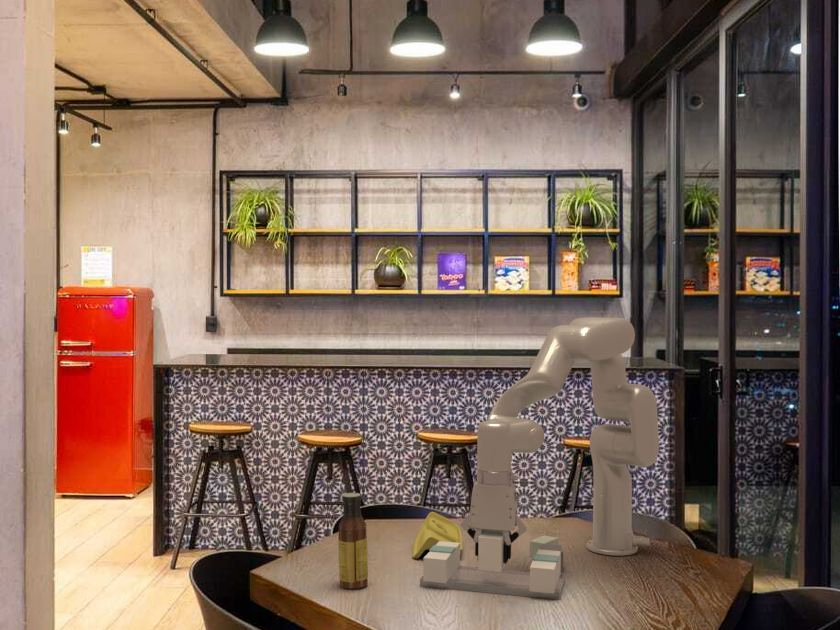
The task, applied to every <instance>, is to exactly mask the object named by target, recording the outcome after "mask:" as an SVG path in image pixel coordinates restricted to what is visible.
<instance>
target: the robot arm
mask: <svg viewBox="0 0 840 630" xmlns="http://www.w3.org/2000/svg"><path fill="white" fill-rule="evenodd" d="M635 336H636V333H635V328H634V326H633V324H632V323H631V321H629V320H628V319H626V318H622V317H598V316H597V317H596V316H592V317H591V316H587V317H579V318H575V319H573V320H572V321H571V322H570V323H569V324H562V325H561V324H560V325H556V326H554V327H553V328H551V330H550V331H549V332H548V334H547V335H546V337H545V339H544V341H543V344H542V345H541V347H540V349H539V351H538V352H537V353H538V354H537V356H536V357H535V359H534V361H533V363H532V365H531V366H530V369H529V371H528V372H527V374H526V375H525V376H524V377H522V378H521V379H519V380H518V381H517V382H515V383H514V384H512V386H510V387H509V388H508V389H507V390H505V392H504V393H502V394H501V395H500V397H499V398H498V399H497V400H496V402H495V403H494V406H493V407H492V410H491V411H490V413H489V414H488V417H487V420H484V421H481V422H480V423H478V426H477V442H476V443H477V448H476V449H477V452H476V453H477V454H476V458H477V459H476V461H477V463H476V481H474V482H473V488H472V490H471V491H472V492H471V499H470V507H469V508H470V510H469V513H468V514H467V515H466V517H465V518H464V519H463V520H462V521H461V523H460V525H459V526H460V527H461V528H462V529H463V530H464V532H466V533H467V534H468V535H469V536H470V537H471V539H472V540H473V542H474V543H475V544H474V546H475V548H474V556H476V557H478V541H479V536H480V535H481V533H482V531H483V530H492V531H502V532H503V535H504V539H505V544H504V546H503V563H506V564H507V563H508V562H509V560H510V559H511V557H512V543H514V542H515V541H516V540H517V539H518V538H519V537H520V536H521V535H523V534H525V533H526V532H527V530H528V527H527V526H526V524H525V523H524V522H523V521H522V519H521V517H520V516H519V514H518V497H517V488H516V485H515V484H516V483H513V481H518V479H519V474H518V473H515V472H514V471H513V470H512V454H513V453H516V454H517V453H518V454H531V453H535V452H536V451H538V450H539V449H540V448H541V447H542V445H543V444H544V441H545V431H544V428H543V427H542V425H540V424H539V423H538V422H537V421H535V420H532V419H528V418H521V417H518V415H519V414H521V412H522V411H524V410H525V409H526V408H528V407H529V406H531V405H533V404H535V403H538V402H541V401H544V400H546V399H549V398H551V397H554V396H555V395H556V396H557V395H558V394H559V393H560V392H561V391H562V389H563V387H564V385H565V383H566V380H567V379H568V376H569V374H570V372H571V370H572V368H573V366H574V365H575V363H576V362H586V363H587V362H588V364H589V366H590V373H591V387H592V388H591V389H592V401H593V403H592V404H593V408H594V413H595V414H596V415H597V416H598V417H599V418H602V419H604V420H608V421H609V420H610V421H615V422H616V421H618V422H625V423H629V426H628V425H625V424H624V425H622V424H614V423H605V424H601V425H597V426H596V427H595V428H594V429H593V430H592V431H591V433H590V437H589V451H590V455H591V456H590V457H591V461H592V472H593V476H592V477H593V479H592V480H593V482H592V483H593V489H592V492H593V494H592V495H593V496H592V497H593V499H592V500H593V501H592V502H593V504H592V507H593V508H592V510H593V511H592V539H589V540H588V541H587V542H586V548H587V550H588V551H590V552H593V553H596V554H599V555H606V556H615V557H616V556H619V557H620V556H622V557H623V556H630V555H634V554H636V553H637V552H638V550H639V549H638V546H639V545H640V546H644V547H650V546H651V539H650V538H649V537H645V536H643V535H640V536H638V535H636V534H634V530H633V529H632V523H633V522H632V515H633V514H632V510H633V509H632V507H633V506H632V503H633V500H632V499H633V481H632V476H631V474H630V473H631V472H630V470H629V468H628V466H633V467H637V468H648V467H650V466H652V465H654V463H656V461H657V459H658V455H659V452H660V451H659V450H660V438H659V419H658V418H659V417H658V406H657V405H658V404H657V400H656V396H655V395H654V393H653V391H652V390H651V389H650V388H649V387H647V386H646V385H643V384H638V383H629V382H628V379H627V374H626V373H627V372H626V364H625V360H624V357H623V355H622V354H624V353H627V351H628V350H630V349H631V348H632V346H633V345H634V342H635V338H636V337H635ZM516 526H517V527H518V529H516V530H515V527H516ZM514 530H515V531H514ZM512 531H514V532H513V533H512ZM477 561H478V558H477Z"/></svg>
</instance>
